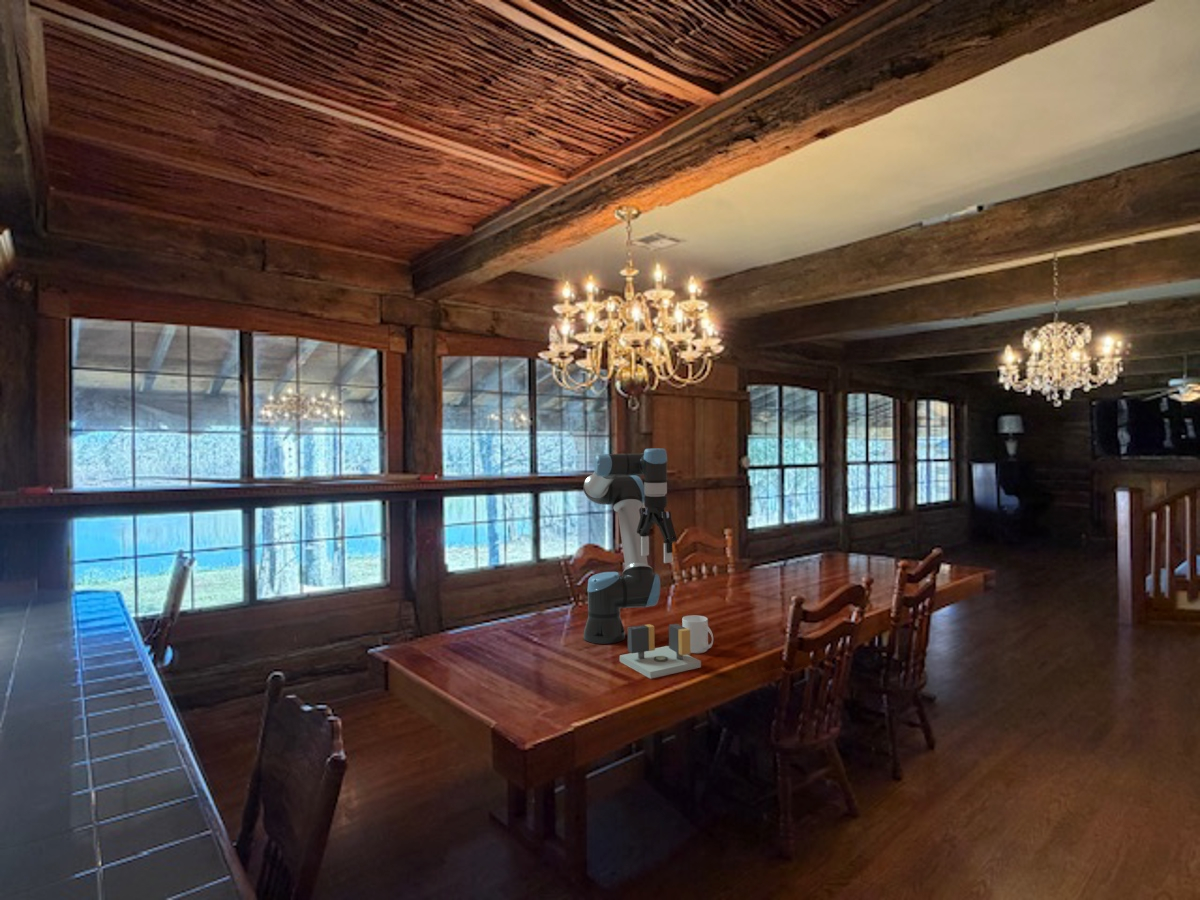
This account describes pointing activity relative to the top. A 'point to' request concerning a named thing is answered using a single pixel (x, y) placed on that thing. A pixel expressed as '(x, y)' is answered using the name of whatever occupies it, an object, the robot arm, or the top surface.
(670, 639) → the knob
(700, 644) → the mug
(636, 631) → the knob
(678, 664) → the base plate
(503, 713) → the top surface
